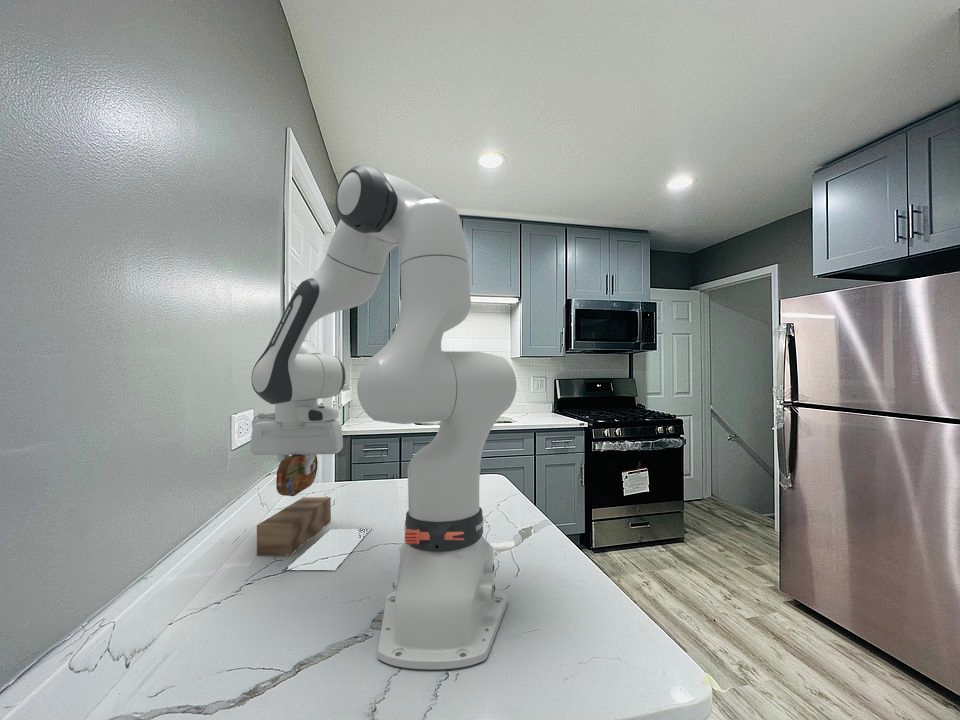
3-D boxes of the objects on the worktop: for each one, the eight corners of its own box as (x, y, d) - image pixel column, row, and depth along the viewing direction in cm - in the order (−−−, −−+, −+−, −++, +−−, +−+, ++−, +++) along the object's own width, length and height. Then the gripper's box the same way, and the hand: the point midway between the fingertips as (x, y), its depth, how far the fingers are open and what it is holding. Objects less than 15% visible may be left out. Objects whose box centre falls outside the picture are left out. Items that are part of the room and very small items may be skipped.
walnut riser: (290, 555, 87) (290, 525, 88) (256, 555, 88) (256, 525, 88) (330, 521, 107) (330, 497, 108) (303, 521, 108) (303, 497, 108)
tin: (285, 501, 91) (289, 461, 91) (271, 499, 91) (275, 459, 91) (317, 482, 106) (320, 447, 106) (304, 481, 106) (308, 446, 106)
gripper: (243, 414, 96) (244, 478, 96) (334, 413, 95) (335, 477, 94) (260, 412, 102) (260, 471, 102) (345, 410, 101) (346, 470, 101)
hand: (297, 474), depth 98 cm, fingers closed on tin, 2 cm apart
